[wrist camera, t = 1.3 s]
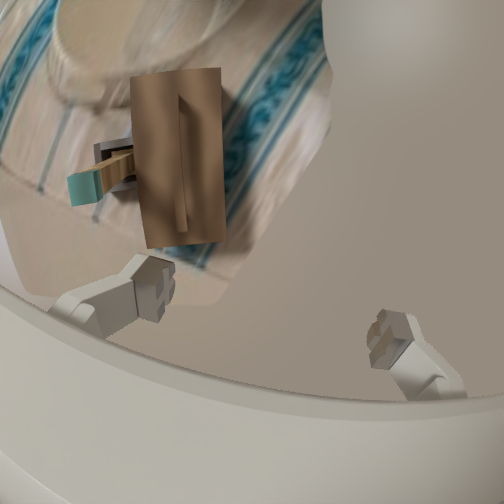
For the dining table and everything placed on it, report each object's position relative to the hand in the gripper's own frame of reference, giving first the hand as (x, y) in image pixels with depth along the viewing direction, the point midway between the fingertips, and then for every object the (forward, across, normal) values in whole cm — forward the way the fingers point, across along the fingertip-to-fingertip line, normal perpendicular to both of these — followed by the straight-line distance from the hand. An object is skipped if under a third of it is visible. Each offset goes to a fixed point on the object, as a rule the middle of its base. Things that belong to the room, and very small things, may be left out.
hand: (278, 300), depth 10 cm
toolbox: (+35, +21, +5) cm, 41 cm away
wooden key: (+33, +27, +6) cm, 43 cm away
